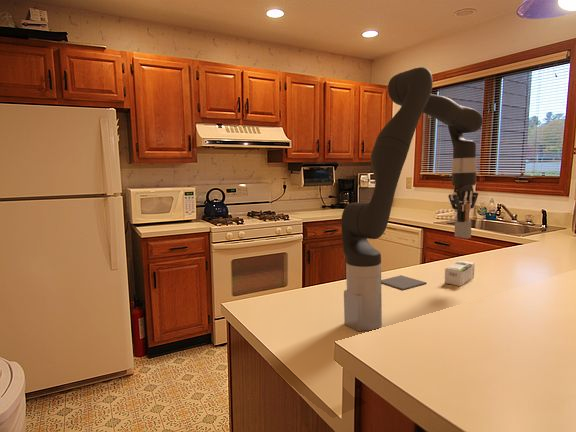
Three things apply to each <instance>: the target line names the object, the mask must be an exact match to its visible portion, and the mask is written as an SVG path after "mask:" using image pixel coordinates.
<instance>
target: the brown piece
mask: <svg viewBox="0 0 576 432" xmlns="http://www.w3.org/2000/svg"><path fill="white" fill-rule="evenodd" d="M460 206H461V204H460ZM463 212H464V222H458V221H457V218H456V219H454V237H455V238H461V239H472V224H473V223H472V220H470V211H469V203H466V204H465V209H464V211H463Z"/></svg>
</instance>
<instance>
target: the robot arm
mask: <svg viewBox="0 0 576 432" xmlns="http://www.w3.org/2000/svg"><path fill="white" fill-rule="evenodd" d="M433 80H434V79H433V75H432V72H431V71H430V70H429V69H428V68H427V67H423V66H421V67H415V68H411V69H409V70H405V71H402V72H399V73H397V74H395V75H394V76H392V77H391V78H390V79H389V81H388V84H387V93H388V95H389V98H390V100H391V101H392V102H393V103H394V104H396V105H398V106H400V108H399V110H398V111H397V112H396V113H395V114H394V115H393V117H392V118H391V119H390V120H389V121H388V122H387V123H386V124H385V125H384V127H382V129H381V130H380V132H379V133H378V135H377V137H376V140H375V142H374V145H373V148H372V150H371V154H370V166H371V170H372V174H373V177H374V188H373V192H372V196H371V198H370V201H369V202H350V203H348V204H347V205H346V206H345V207H344V209H343V211H342V214H341V219H340V220H341V223H340V226H341V239H342V240H341V241H342V250H343V254H344V256H345V268H346V269H345V270H346V272H345V273H346V274H345V277H346V289H345V290H343V309H344V311H343V314H344V315H343V318H344V325H345V326H348V327H349V328H351V329H354V330H356V331H358V332H361V331H362V332H363V331H375V330H378V329H379V328H381V327H382V325H383V322H382V319H383V317H382V316H383V315H382V312H383V309H382V299H383V298H382V283H381V280H382V255H381V254H382V253H381V251H379V250H378V249H377V248H375V247H374V246H372V244H371V243H370V242H369V240H368V239H370V240H377V239H379V238H381V237H383V235H384V233H385V232H386V229H387V226H388V223H389V220H390V216H391V212H392V206H393V203H394V198H395V193H396V190H397V187H398V183H399V180H400V176H401V173H402V170H403V167H404V164H405V163H406V160H407V157H408V153H409V151H410V148H411V144H412V140H413V138H414V135H415V133H416V129H417V126H418V123H419V121H420V119H421V116H422V114H426V116H427V115H428V116H430V117H432V118H434V119H436V120H437V121H439V122H441V123H442V124H445V125H447V129H448V132H449V136H450V139H451V143H452V164H451V185H452V186H454V189H453V193H451V194H448V196H447V197H448V200H449V202H450V205H451V208H452V210H455V211H456V219H457V221H458V222H464V212H463V211H464V209H465V204H466V203H469V212H470V211H471V209H474V208H475V205H476V202H477V200H478V196H479V193H478V192H475V191H474V187H473V186H476V184H477V159H476V158H477V157H476V155H477V154H476V153H477V150H476V149H477V145H476V144H477V143H476V142H475V140H472V139H465V137H464V135H463V134H469V133H476V132H477V131H479V130H480V129H481V128H482V126H483V122H484V120H483V116H482V114H481V113H480V112H479V111H478V110H476V109H474V108H471V107H469V106H465V105H460V104H459V103H457V102H456V101H454V100H453V99H452V98H450V97H449V98H448V97H447V96H443V95H438V94H434V93H432V91H433V86H434V82H433ZM460 204H461V206H460ZM377 328H378V329H377ZM374 329H375V330H374Z"/></svg>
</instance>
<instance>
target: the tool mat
mask: <svg viewBox="0 0 576 432" xmlns="http://www.w3.org/2000/svg"><path fill="white" fill-rule="evenodd" d="M381 284H383V285H386V286H389V287H392V288H395V289H398V290H401V291H405V290H409V289H412V288H416V287H420V286H423V285H426V284H427V282H426V281H423V280H420V279H415V278H412V277H408V276H405V275H397V276H392V277H389V278H385V279H384V278H383V279H381Z"/></svg>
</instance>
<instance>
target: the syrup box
mask: <svg viewBox="0 0 576 432" xmlns="http://www.w3.org/2000/svg"><path fill="white" fill-rule="evenodd" d="M474 277H475V262H471V261H465V260H464V261H463V260H458V261H456V262H454V263H452V264H450V265H449V266H446V267H445V268H444V284H448V285H452V286H458V287H462V286H463V285H464V284H465V283H467V282H468V281H470V280H471V279H473V278H474Z"/></svg>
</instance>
